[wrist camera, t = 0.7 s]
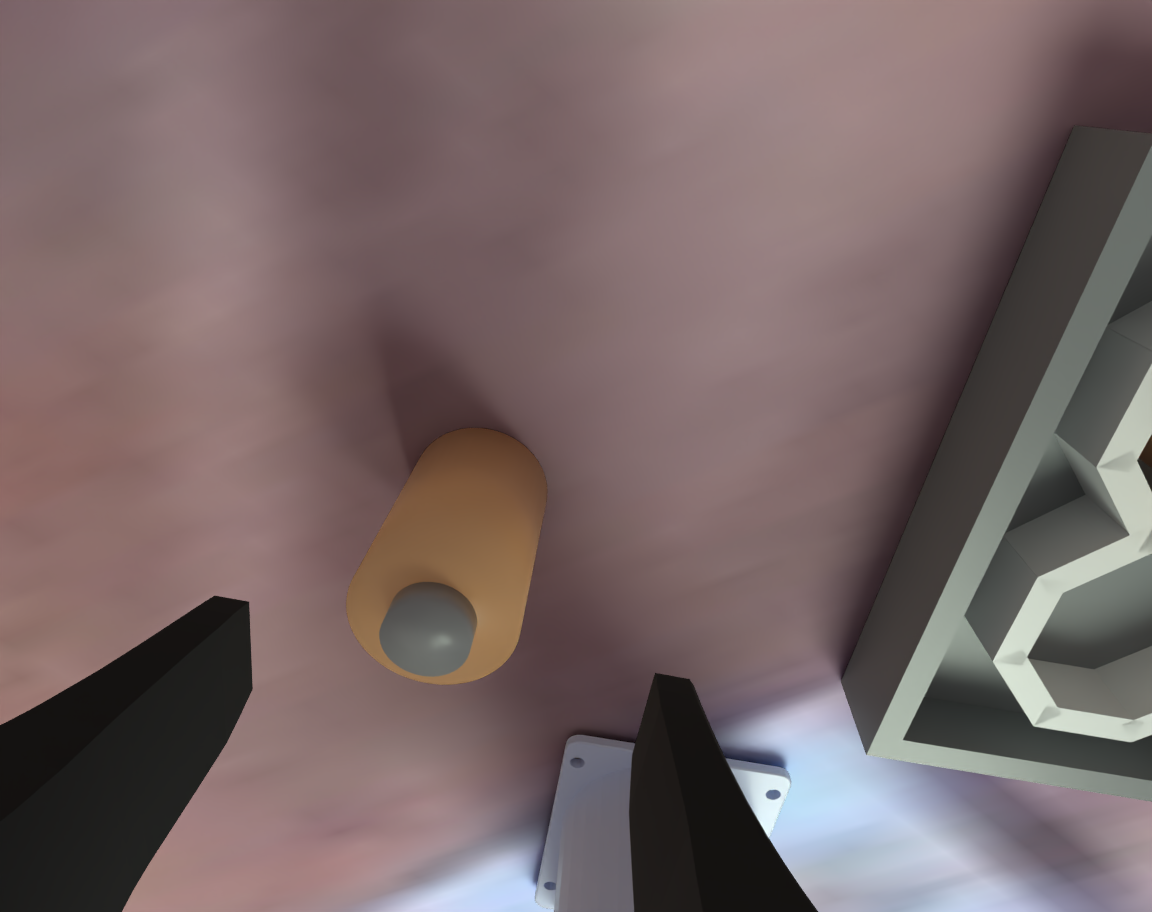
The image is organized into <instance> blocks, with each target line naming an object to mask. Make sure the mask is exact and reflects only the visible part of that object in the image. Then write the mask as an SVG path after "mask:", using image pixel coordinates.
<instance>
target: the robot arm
mask: <svg viewBox="0 0 1152 912" xmlns="http://www.w3.org/2000/svg"><path fill="white" fill-rule="evenodd" d="M251 691H252V664H251V639H250V614H249V602H247V601H242V600H236V599H230V598H225V597H219V596H213V597H212V598H210V599H209V600H207V601H205V602H204V603H202V604H201V605H199V606H198V607H196V608H195V609H193V610H191V611H190V612H188V613H187V614H185V615H184V616H182V617H181V618H179V619H178V620H176V621H175V622H173V623H172V624H170V625H169V626H167V627H166V628H164V629H163V630H161V631H159V632H158V633H156V634H155V635H153V636H152V637H150V638H149V639H147V640H146V641H144V642H143V643H141V644H140V645H138V646H136V647H135V648H133V649H132V650H130V651H128V652H127V653H125V654H124V655H122V656H121V657H119V658H117V659H116V660H114V661H113V662H111V663H110V664H108V665H106V666H105V667H103V668H102V669H100V670H98V671H97V672H95V673H93V674H92V675H90V676H88V677H86V678H85V679H83V680H81V681H80V682H78V683H76V684H74V685H73V686H71V687H69V688H68V689H66V690H64V691H62V692H61V693H59V694H57V695H55V696H54V697H52V698H50V699H49V700H47V701H45V702H43V703H42V704H40V705H38V706H36V707H34V708H32V709H31V710H29V711H27V712H25V713H23V714H21V715H19V716H17V717H15V718H14V719H12V720H10V721H8V722H6V723H4V724H2V725H0V912H122V910H123V908H124V906H125V905H126V903H127V901H128V899H129V897H130V895H131V893H132V891H133V890H134V888H135V886H136V885H137V883H138V881H139V880H140V878H141V876H142V874H143V873H144V871H145V869H146V868H147V866H148V864H149V863H150V861H151V860H152V858H153V857H154V855H155V854H156V852H157V850H158V849H159V847H160V846H161V844H162V843H163V841H164V840H165V838H166V837H167V835H168V833H169V832H170V830H171V829H172V827H173V826H174V824H175V823H176V821H177V820H178V818H179V816H180V815H181V813H182V812H183V810H184V809H185V807H186V806H187V804H188V803H189V801H190V800H191V798H192V796H193V795H194V793H195V792H196V790H197V789H198V787H199V786H200V784H201V782H202V781H203V779H204V778H205V776H206V775H207V773H208V772H209V770H210V768H211V767H212V765H213V764H214V762H215V761H216V759H217V757H218V756H219V754H220V753H221V751H222V749H223V748H224V746H225V745H226V743H227V741H228V739H229V737H230V735H231V733H232V731H233V729H234V727H235V725H236V723H237V721H238V719H239V717H240V715H241V713H242V710H243V708H244V706H245V704H246V702H247V700H248V698H249V695H250V693H251ZM576 758H581V759H576ZM790 787H791V779H790V775H789V773H788V771H787V770H785V769H784V768H781V767H777V766H771V765H765V764H758V763H752V762H746V761H740V760H734V759H728V758H725V756H724V754H723V752H722V750H721V748H720V746H719V744H718V742H717V739H716V737H715V735H714V733H713V731H712V728H711V726H710V724H709V722H708V719H707V717H706V715H705V712H704V710H703V707H702V705H701V703H700V700H699V698H698V695H697V693H696V690H695V687H694V685H693V684H692V682H691V681H690V679H686V678H680V677H674V676H669V675H663V674H657V673H655V675H654V679H653V682H652V686H651V690H650V693H649V697H648V700H647V704H646V707H645V711H644V714H643V718H642V721H641V725H640V729H639V732H638V736H637V739H636V743H629V742H623V741H617V740H611V739H605V738H599V737H593V736H586V735H574V736H571V737H570V738H569V739H568V740H567V742H566V746H565V751H564V755H563V760H562V765H561V770H560V775H559V780H558V785H557V789H556V794H555V799H554V804H553V809H552V814H551V819H550V824H549V828H548V833H547V838H546V843H545V848H544V853H543V858H542V862H541V867H540V872H539V877H538V882H537V887H536V892H535V902H536V903H537V904H538V905H539V906H540V907H543V908H547V909H553V910H554V912H818V911H817V909H816V908H815V907H814V905H813V904H812V903H811V901H810V900H809V898H808V897H807V896H806V894H805V893H804V891H803V890H802V889H801V887H800V886H799V884H798V883H797V881H796V880H795V878H794V877H793V875H792V874H791V872H790V871H789V869H788V868H787V866H786V865H785V863H784V862H783V860H782V859H781V857H780V855H779V854H778V852H777V851H776V849H775V847H774V846H773V844H772V843H771V841H770V839H769V838H770V835H771V833H772V830H773V828H774V826H775V823H776V821H777V818H778V816H779V814H780V811H781V809H782V806H783V804H784V801H785V799H786V797H787V794H788V792H789V789H790Z"/></svg>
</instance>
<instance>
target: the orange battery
mask: <svg viewBox="0 0 1152 912" xmlns="http://www.w3.org/2000/svg"><path fill="white" fill-rule="evenodd" d="M546 502H547V482H546V478H545V475H544V472H543V469H542V467H541V466H540V464H539V462H538V461H537V459H536V458H535V456H534V455H533V454H532V453H531V452H530V451H529V450H528V449H527V448H526V447H525V446H524V445H523V444H521V443H520V442H519V441H517V440H515V439H514V438H512V437H510V436H508V435H506V434H504V433H501V432H498V431H495V430H490V429H485V428H465V429H459V430H455V431H452V432H449V433H447V434H444V435H443V436H441V437H439V438H438V439H436V440H435V441H434V442H432V443H431V444H430V445H429V446H428V447H427V448H426V449H425V451H424V452H423V454H422V455H421V457H420V459H419V460H418V462H417V464H416V466H415V468H414V469H413V471H412V473H411V475H410V476H409V478H408V480H407V482H406V484H405V485H404V487H403V489H402V491H401V493H400V494H399V496H398V498H397V500H396V502H395V503H394V505H393V507H392V509H391V511H390V512H389V514H388V516H387V518H386V520H385V521H384V523H383V525H382V527H381V529H380V530H379V532H378V534H377V536H376V538H375V539H374V541H373V543H372V545H371V547H370V548H369V550H368V552H367V554H366V556H365V557H364V559H363V561H362V563H361V565H360V566H359V568H358V570H357V572H356V574H355V575H354V577H353V579H352V581H351V583H350V586H349V589H348V593H347V600H346V610H347V616H348V621H349V624H350V626H351V629H352V631H353V633H354V635H355V637H356V639H357V640H358V641H359V643H360V644H361V646H362V647H363V648H364V649H365V650H366V651H367V652H368V653H369V655H370V656H372V657H373V658H374V659H375V660H376V661H378V662H379V663H380V664H382V665H383V666H385V667H386V668H388V669H390V670H391V671H393V672H395V673H397V674H399V675H402V676H404V677H406V678H409V679H413V680H416V681H420V682H424V683H430V684H440V685H451V684H461V683H466V682H471V681H474V680H477V679H480V678H482V677H485V676H487V675H489V674H490V673H492V672H494V671H495V670H497V669H498V668H499V667H500V666H502V665H503V664H504V663H505V662H506V661H507V660H508V658H509V657H510V656H511V654H512V653H513V651H514V650H515V648H516V645H517V643H518V641H519V636H520V632H521V627H522V622H523V617H524V612H525V607H526V602H527V597H528V592H529V587H530V582H531V577H532V572H533V567H534V562H535V557H536V552H537V547H538V542H539V537H540V532H541V527H542V522H543V517H544V512H545V507H546Z"/></svg>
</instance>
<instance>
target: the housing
mask: <svg viewBox="0 0 1152 912" xmlns="http://www.w3.org/2000/svg"><path fill="white" fill-rule="evenodd" d="M841 683H842V686H843V689H844V692H845V695H846V698H847V701H848V704H849V706H850V709H851V712H852V715H853V718H854V721H855V724H856V727H857V729H858V732H859V735H860V738H861V741H862V744H863V747H864V750H865V752H866V755H869V756H875V757H882V758H888V759H894V760H900V761H906V762H912V763H918V764H924V765H931V766H937V767H943V768H949V769H955V770H961V771H967V772H974V773H980V774H986V775H992V776H998V777H1004V778H1010V779H1016V780H1023V781H1029V782H1035V783H1041V784H1047V785H1053V786H1059V787H1065V788H1072V789H1078V790H1084V791H1090V792H1096V793H1102V794H1108V795H1114V796H1121V797H1127V798H1133V799H1139V800H1145V801H1151V802H1152V133H1142V132H1133V131H1123V130H1113V129H1104V128H1094V127H1085V126H1075V125H1074V127H1073V130H1072V132H1071V134H1070V137H1069V139H1068V142H1067V144H1066V146H1065V149H1064V151H1063V154H1062V156H1061V158H1060V161H1059V163H1058V165H1057V168H1056V170H1055V173H1054V175H1053V177H1052V180H1051V182H1050V185H1049V187H1048V189H1047V192H1046V194H1045V196H1044V199H1043V201H1042V204H1041V206H1040V208H1039V211H1038V213H1037V216H1036V218H1035V220H1034V223H1033V225H1032V227H1031V230H1030V232H1029V235H1028V237H1027V239H1026V242H1025V244H1024V247H1023V249H1022V251H1021V254H1020V256H1019V258H1018V261H1017V263H1016V266H1015V268H1014V270H1013V273H1012V275H1011V278H1010V280H1009V282H1008V285H1007V287H1006V289H1005V292H1004V294H1003V297H1002V299H1001V301H1000V304H999V306H998V309H997V311H996V313H995V316H994V318H993V320H992V323H991V325H990V328H989V330H988V332H987V335H986V337H985V340H984V342H983V344H982V347H981V349H980V351H979V354H978V356H977V359H976V361H975V363H974V366H973V368H972V370H971V373H970V375H969V378H968V380H967V382H966V385H965V387H964V390H963V392H962V394H961V397H960V399H959V401H958V404H957V406H956V409H955V411H954V413H953V416H952V418H951V421H950V423H949V425H948V428H947V430H946V432H945V435H944V437H943V440H942V442H941V444H940V447H939V449H938V452H937V454H936V456H935V459H934V461H933V463H932V466H931V468H930V471H929V473H928V475H927V478H926V480H925V483H924V485H923V487H922V490H921V492H920V494H919V497H918V499H917V502H916V504H915V506H914V509H913V511H912V514H911V516H910V518H909V521H908V523H907V525H906V528H905V530H904V533H903V535H902V537H901V540H900V542H899V545H898V547H897V549H896V552H895V554H894V556H893V559H892V561H891V564H890V566H889V568H888V571H887V573H886V576H885V578H884V580H883V583H882V585H881V587H880V590H879V592H878V595H877V597H876V599H875V602H874V604H873V607H872V609H871V611H870V614H869V616H868V618H867V621H866V623H865V626H864V628H863V630H862V633H861V635H860V638H859V640H858V642H857V645H856V647H855V649H854V652H853V654H852V657H851V659H850V661H849V664H848V666H847V669H846V671H845V673H844V676H843V678H842V680H841Z"/></svg>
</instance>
